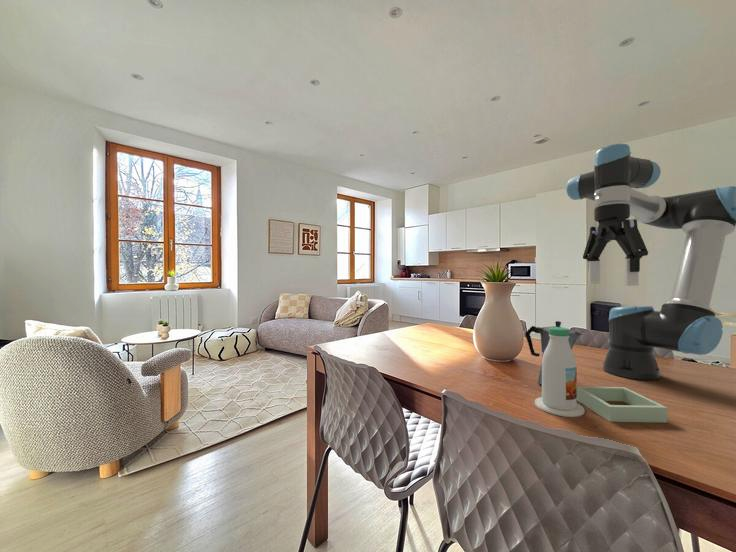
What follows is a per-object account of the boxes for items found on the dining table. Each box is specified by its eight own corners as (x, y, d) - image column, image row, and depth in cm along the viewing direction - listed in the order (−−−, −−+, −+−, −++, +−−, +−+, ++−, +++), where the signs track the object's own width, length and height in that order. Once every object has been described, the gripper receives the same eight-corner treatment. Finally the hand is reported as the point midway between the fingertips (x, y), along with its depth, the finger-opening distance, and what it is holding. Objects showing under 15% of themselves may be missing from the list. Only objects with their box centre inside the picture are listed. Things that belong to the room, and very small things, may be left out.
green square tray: (624, 399, 86) (624, 387, 86) (667, 422, 73) (667, 407, 73) (575, 399, 86) (575, 386, 86) (609, 421, 74) (609, 406, 73)
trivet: (568, 399, 87) (568, 397, 87) (594, 417, 76) (595, 415, 76) (527, 398, 87) (527, 396, 87) (548, 416, 76) (548, 414, 76)
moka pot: (588, 393, 91) (588, 324, 91) (530, 389, 94) (530, 322, 94) (573, 381, 100) (573, 319, 100) (521, 378, 103) (521, 318, 103)
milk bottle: (554, 412, 77) (555, 331, 77) (535, 399, 85) (535, 325, 85) (584, 410, 78) (584, 330, 78) (562, 398, 86) (562, 325, 85)
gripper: (569, 214, 97) (569, 282, 97) (634, 193, 72) (634, 286, 72) (594, 213, 96) (594, 282, 97) (668, 193, 71) (668, 286, 72)
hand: (611, 284), depth 84 cm, fingers open, 13 cm apart
